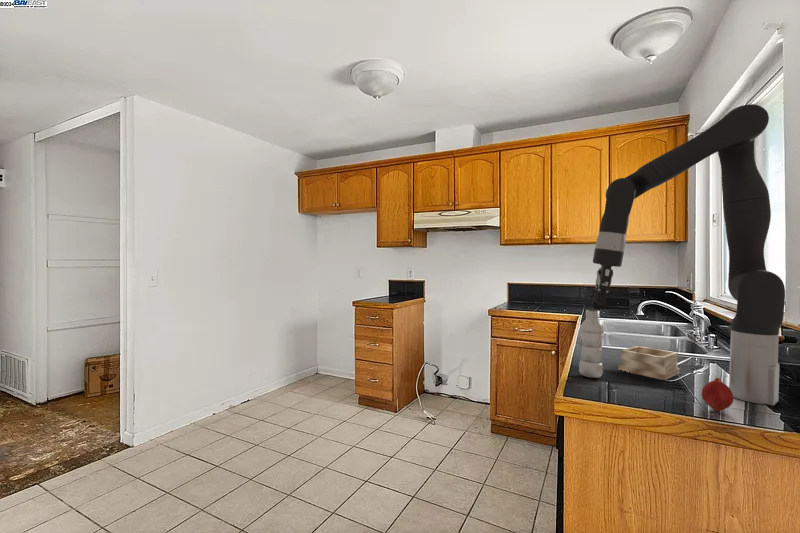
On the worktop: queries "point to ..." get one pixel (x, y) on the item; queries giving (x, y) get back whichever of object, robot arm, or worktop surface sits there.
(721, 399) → the onion
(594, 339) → the silver bottle
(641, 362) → the wooden tray
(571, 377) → the worktop surface
